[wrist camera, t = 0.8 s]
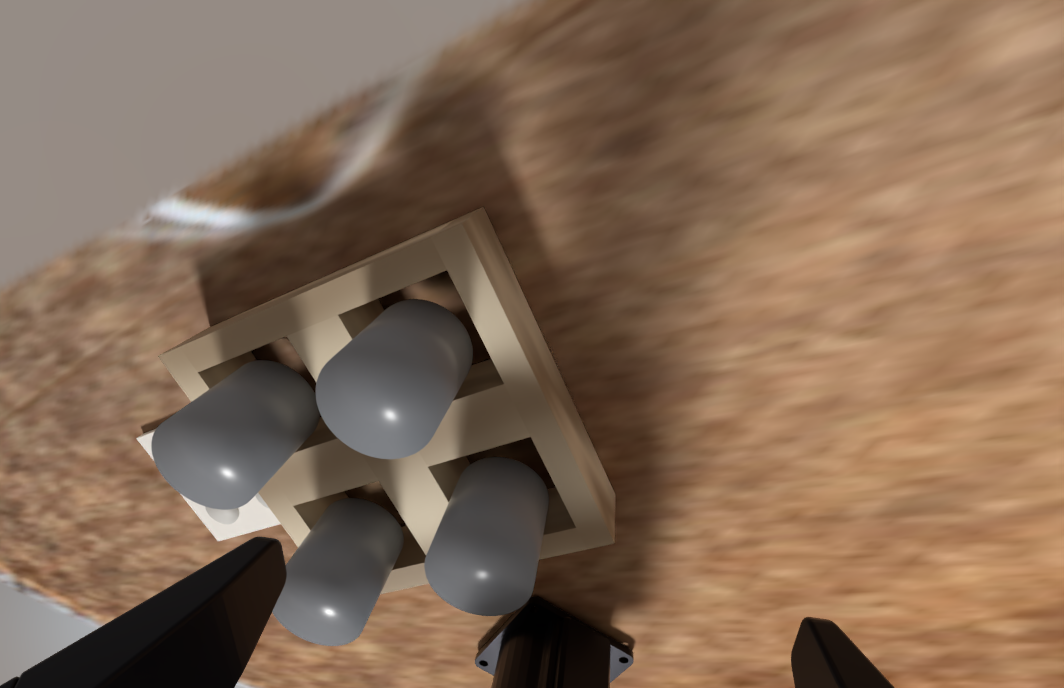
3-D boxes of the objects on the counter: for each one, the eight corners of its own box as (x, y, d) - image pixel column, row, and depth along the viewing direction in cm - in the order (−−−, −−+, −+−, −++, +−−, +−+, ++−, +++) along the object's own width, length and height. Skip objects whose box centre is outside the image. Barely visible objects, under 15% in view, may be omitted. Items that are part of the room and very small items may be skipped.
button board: (615, 494, 25) (614, 543, 22) (365, 555, 29) (339, 603, 26) (483, 206, 20) (462, 223, 18) (209, 327, 24) (157, 356, 22)
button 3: (563, 520, 22) (551, 605, 18) (481, 540, 23) (455, 623, 20) (525, 446, 21) (505, 521, 17) (441, 470, 22) (404, 546, 18)
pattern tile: (323, 507, 28) (318, 515, 27) (223, 536, 30) (216, 543, 29) (245, 394, 26) (238, 400, 25) (142, 433, 28) (133, 439, 27)
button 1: (490, 376, 20) (460, 440, 16) (403, 405, 21) (356, 471, 17) (442, 284, 19) (398, 330, 15) (353, 320, 20) (291, 371, 16)
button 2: (337, 428, 22) (279, 495, 18) (265, 452, 23) (197, 519, 19) (285, 347, 21) (212, 401, 17) (212, 376, 22) (129, 434, 18)
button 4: (418, 555, 24) (382, 637, 20) (349, 571, 25) (303, 652, 22) (376, 489, 23) (329, 564, 19) (306, 509, 24) (249, 583, 20)
